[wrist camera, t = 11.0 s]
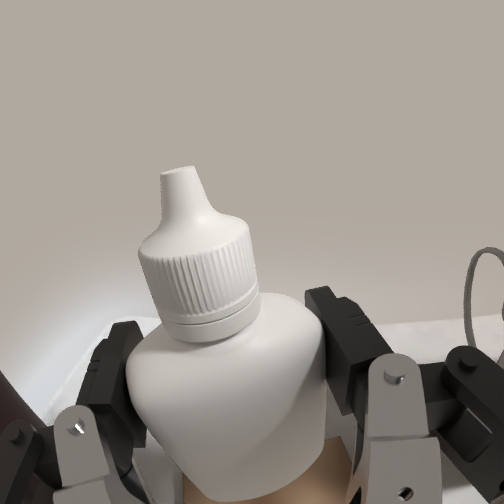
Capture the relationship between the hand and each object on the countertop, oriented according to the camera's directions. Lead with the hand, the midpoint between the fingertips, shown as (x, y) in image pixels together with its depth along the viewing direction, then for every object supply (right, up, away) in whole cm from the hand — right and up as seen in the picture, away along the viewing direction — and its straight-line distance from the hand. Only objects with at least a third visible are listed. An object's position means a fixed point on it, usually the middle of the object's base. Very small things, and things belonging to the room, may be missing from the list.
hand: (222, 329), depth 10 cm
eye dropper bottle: (+1, -7, +1) cm, 7 cm away
